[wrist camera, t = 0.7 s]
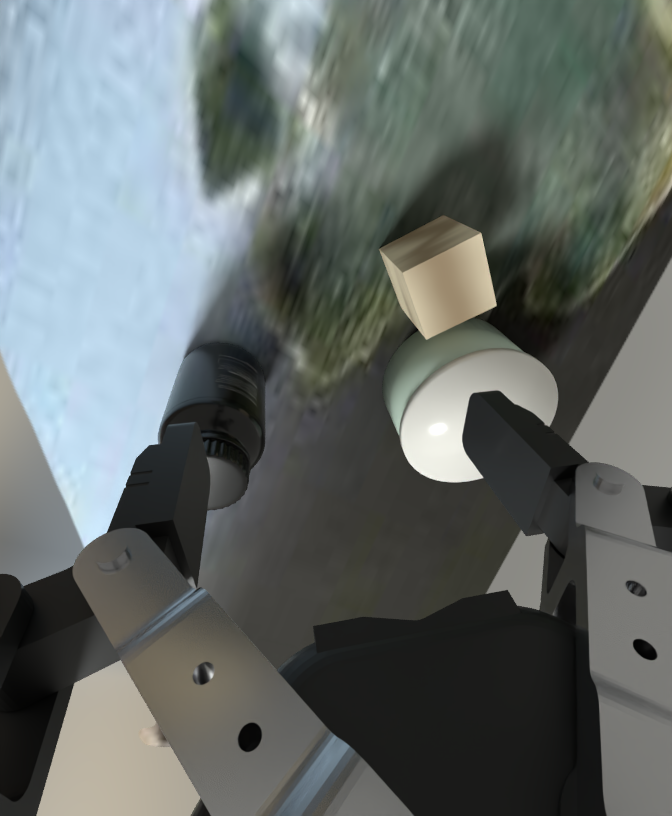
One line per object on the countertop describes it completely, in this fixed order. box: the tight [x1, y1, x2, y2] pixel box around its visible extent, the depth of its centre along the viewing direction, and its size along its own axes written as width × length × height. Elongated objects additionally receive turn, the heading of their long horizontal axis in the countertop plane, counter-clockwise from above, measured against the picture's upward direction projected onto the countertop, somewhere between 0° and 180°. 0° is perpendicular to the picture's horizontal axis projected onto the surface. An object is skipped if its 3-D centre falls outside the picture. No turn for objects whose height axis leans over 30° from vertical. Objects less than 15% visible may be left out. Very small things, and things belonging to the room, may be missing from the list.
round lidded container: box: [382, 318, 558, 482], centre depth 33 cm, size 12×12×7 cm
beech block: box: [379, 215, 497, 340], centre depth 27 cm, size 5×5×6 cm
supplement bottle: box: [158, 343, 265, 511], centre depth 28 cm, size 7×7×12 cm
